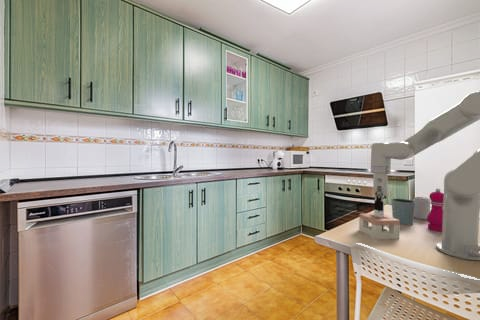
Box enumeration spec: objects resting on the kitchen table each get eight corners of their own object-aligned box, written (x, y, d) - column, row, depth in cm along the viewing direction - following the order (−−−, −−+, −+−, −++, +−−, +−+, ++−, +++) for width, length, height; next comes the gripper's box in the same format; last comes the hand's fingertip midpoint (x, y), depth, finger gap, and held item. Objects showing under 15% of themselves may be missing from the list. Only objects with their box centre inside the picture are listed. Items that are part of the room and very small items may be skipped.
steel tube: (385, 235, 98) (386, 200, 97) (377, 235, 97) (378, 200, 97) (379, 232, 101) (380, 198, 101) (371, 232, 101) (372, 198, 100)
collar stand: (399, 238, 94) (399, 220, 94) (375, 239, 93) (376, 220, 93) (380, 229, 105) (381, 213, 105) (359, 230, 104) (359, 213, 104)
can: (413, 215, 129) (414, 195, 129) (430, 218, 124) (431, 197, 123) (411, 218, 124) (412, 197, 123) (428, 221, 118) (429, 199, 118)
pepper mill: (450, 232, 102) (452, 190, 101) (432, 231, 103) (434, 189, 102) (439, 227, 109) (441, 187, 108) (423, 226, 110) (424, 187, 109)
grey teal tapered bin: (402, 226, 110) (403, 202, 110) (385, 219, 120) (386, 198, 120) (419, 225, 112) (420, 202, 111) (401, 219, 122) (402, 197, 121)
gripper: (390, 172, 89) (389, 213, 90) (390, 169, 103) (389, 205, 104) (369, 171, 93) (367, 210, 94) (371, 168, 107) (370, 203, 108)
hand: (379, 207), depth 99 cm, fingers open, 9 cm apart
